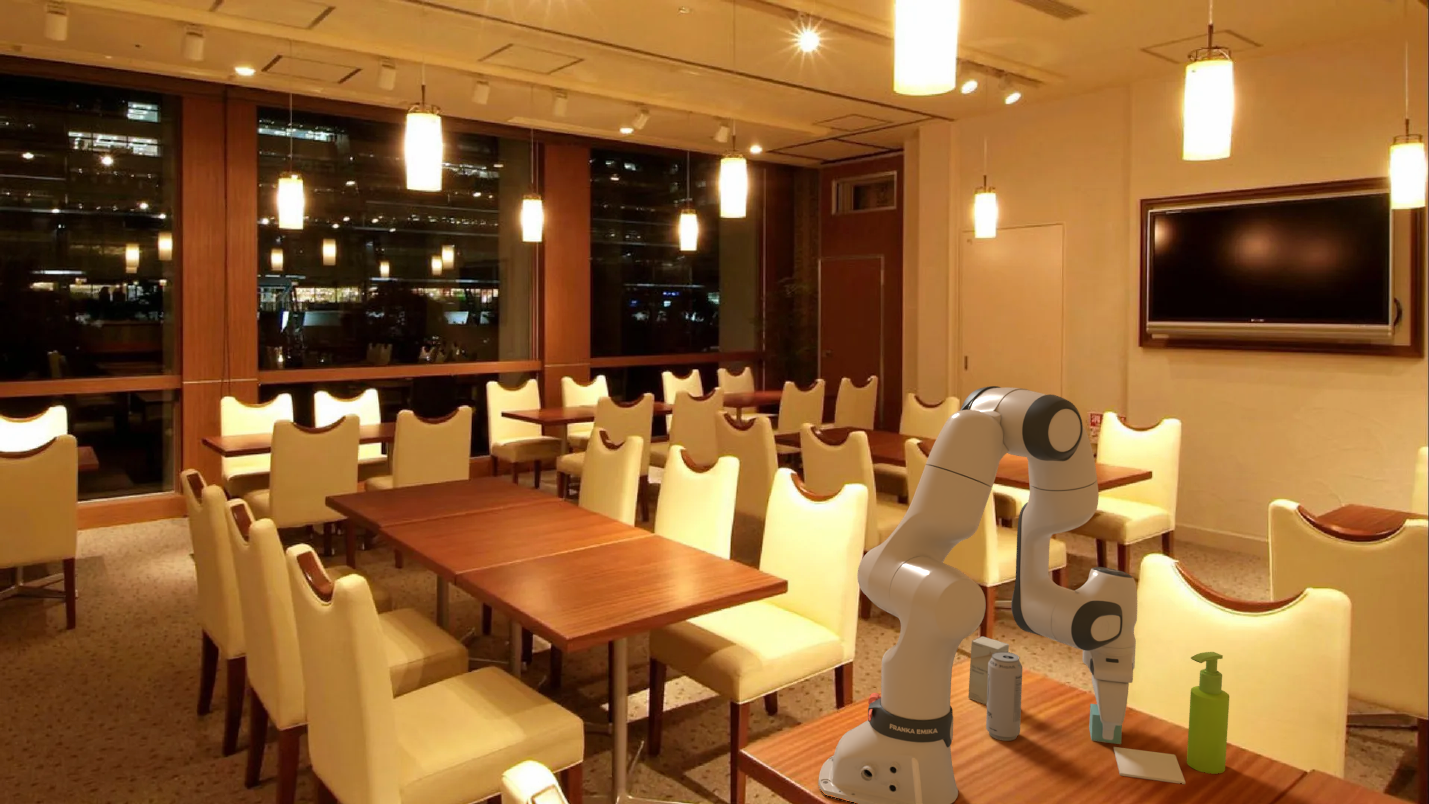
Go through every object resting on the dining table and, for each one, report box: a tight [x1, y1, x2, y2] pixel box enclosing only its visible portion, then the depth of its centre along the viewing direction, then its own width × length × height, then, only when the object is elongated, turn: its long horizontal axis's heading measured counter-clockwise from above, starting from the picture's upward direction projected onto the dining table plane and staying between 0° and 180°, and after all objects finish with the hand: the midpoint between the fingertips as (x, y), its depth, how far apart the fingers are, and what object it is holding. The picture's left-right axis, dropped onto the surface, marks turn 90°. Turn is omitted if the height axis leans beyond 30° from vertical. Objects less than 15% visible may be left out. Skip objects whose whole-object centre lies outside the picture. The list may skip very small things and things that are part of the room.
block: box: [1088, 703, 1123, 745], centre depth 174 cm, size 5×5×5 cm
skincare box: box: [967, 635, 1010, 706], centre depth 189 cm, size 6×4×12 cm
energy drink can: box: [985, 651, 1023, 742], centre depth 174 cm, size 6×6×15 cm
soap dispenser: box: [1186, 651, 1230, 775], centre depth 162 cm, size 6×7×20 cm
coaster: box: [1113, 746, 1186, 785], centre depth 163 cm, size 10×10×1 cm
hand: (1105, 727), depth 174 cm, fingers open, 7 cm apart
